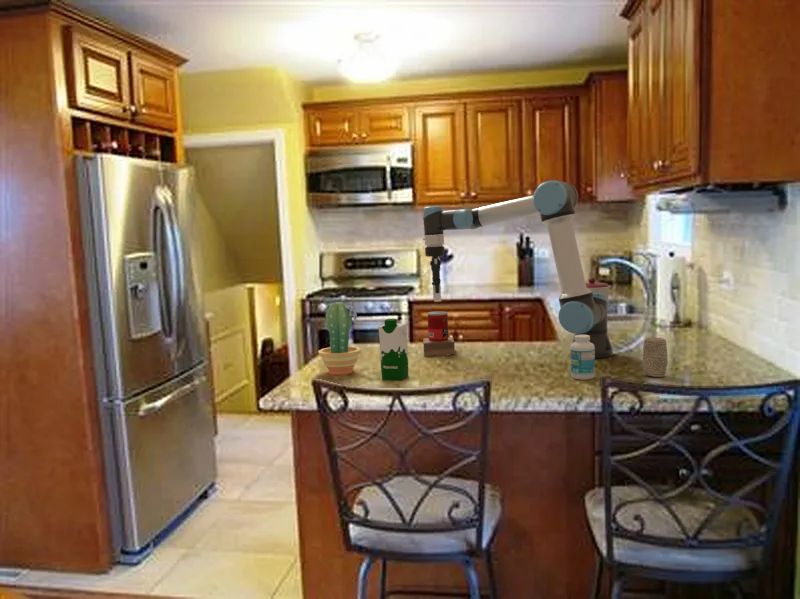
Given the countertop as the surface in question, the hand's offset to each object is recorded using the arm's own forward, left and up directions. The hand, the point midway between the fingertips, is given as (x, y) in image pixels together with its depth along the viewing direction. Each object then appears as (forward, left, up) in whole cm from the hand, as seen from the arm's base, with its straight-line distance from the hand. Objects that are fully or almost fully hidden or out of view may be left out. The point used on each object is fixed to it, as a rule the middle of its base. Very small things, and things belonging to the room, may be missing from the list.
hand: (437, 299), depth 262 cm
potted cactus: (-29, +36, -22) cm, 51 cm away
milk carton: (-42, +16, -22) cm, 50 cm away
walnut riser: (0, 0, -21) cm, 21 cm away
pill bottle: (-53, -44, -22) cm, 72 cm away
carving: (-55, -66, -22) cm, 88 cm away
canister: (+78, -81, -22) cm, 115 cm away
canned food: (0, 0, -16) cm, 16 cm away
